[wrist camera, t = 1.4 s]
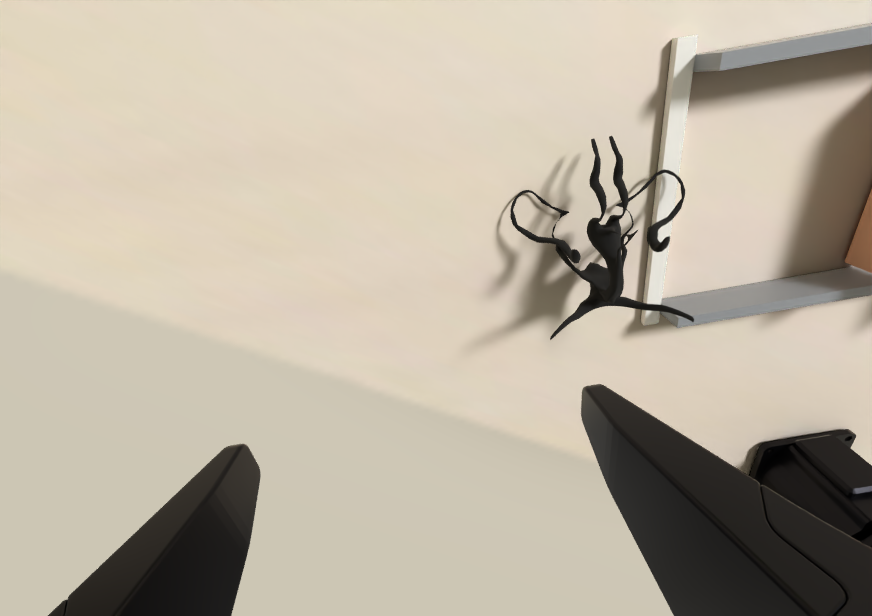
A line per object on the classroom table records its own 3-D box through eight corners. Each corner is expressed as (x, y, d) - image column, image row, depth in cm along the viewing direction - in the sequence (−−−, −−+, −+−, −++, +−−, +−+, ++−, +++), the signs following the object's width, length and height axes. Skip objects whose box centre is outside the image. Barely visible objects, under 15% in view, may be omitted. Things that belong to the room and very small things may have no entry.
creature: (502, 152, 19) (515, 309, 22) (522, 152, 14) (536, 357, 17) (675, 124, 18) (665, 290, 21) (762, 115, 13) (734, 333, 16)
